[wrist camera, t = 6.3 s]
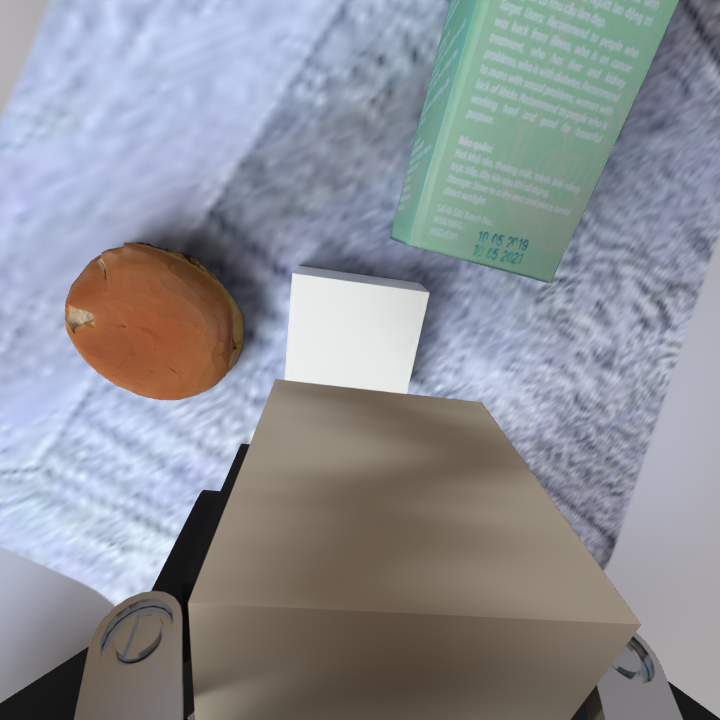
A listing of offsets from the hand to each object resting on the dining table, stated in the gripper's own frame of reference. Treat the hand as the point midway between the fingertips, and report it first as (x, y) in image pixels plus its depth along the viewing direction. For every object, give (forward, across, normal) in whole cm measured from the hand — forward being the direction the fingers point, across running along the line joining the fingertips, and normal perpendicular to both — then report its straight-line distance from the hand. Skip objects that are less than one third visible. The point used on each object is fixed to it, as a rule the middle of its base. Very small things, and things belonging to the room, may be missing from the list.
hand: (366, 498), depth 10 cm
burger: (+16, +12, +1) cm, 20 cm away
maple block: (+1, 0, 0) cm, 1 cm away
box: (+16, -6, -13) cm, 21 cm away
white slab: (+15, 0, 0) cm, 15 cm away
